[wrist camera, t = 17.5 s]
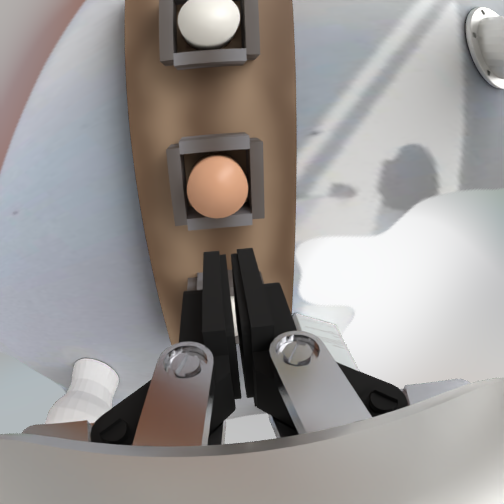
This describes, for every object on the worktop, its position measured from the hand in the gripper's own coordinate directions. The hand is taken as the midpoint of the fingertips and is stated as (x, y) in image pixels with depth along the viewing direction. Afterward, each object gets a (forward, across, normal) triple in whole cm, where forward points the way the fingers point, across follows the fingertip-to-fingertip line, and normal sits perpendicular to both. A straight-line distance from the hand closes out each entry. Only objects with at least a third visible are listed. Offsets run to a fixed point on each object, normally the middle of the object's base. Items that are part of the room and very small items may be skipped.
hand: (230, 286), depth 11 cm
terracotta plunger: (+15, 0, 0) cm, 15 cm away
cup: (+21, +22, +29) cm, 42 cm away
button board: (+21, 0, 0) cm, 21 cm away
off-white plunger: (+17, 0, -13) cm, 21 cm away
